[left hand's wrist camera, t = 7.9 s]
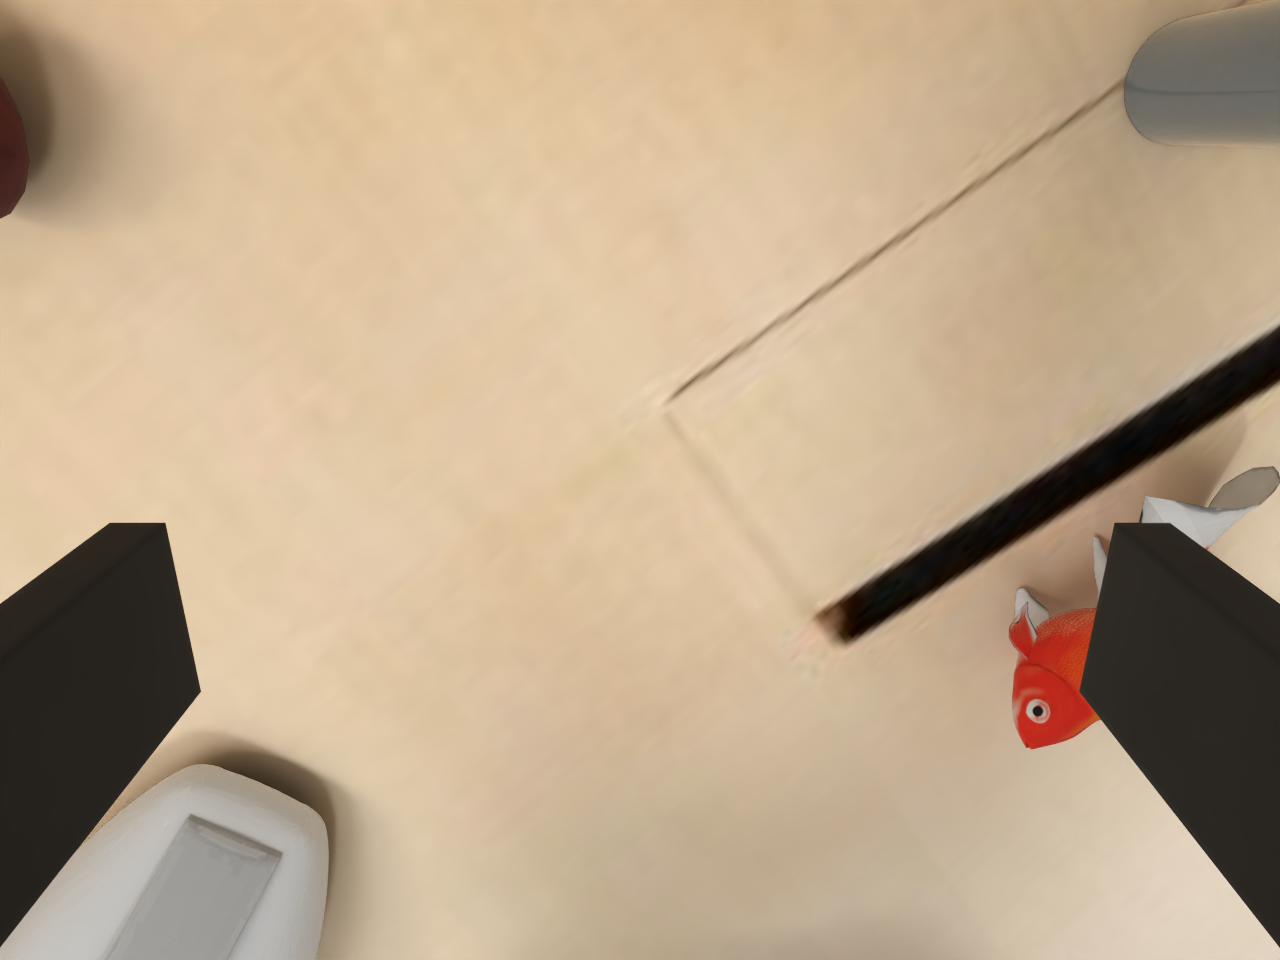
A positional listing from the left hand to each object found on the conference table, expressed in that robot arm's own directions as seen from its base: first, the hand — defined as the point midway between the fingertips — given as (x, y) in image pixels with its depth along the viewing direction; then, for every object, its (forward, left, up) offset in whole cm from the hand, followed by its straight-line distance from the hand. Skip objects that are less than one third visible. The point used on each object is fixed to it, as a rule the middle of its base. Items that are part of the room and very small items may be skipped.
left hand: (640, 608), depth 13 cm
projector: (-35, +26, -28) cm, 52 cm away
